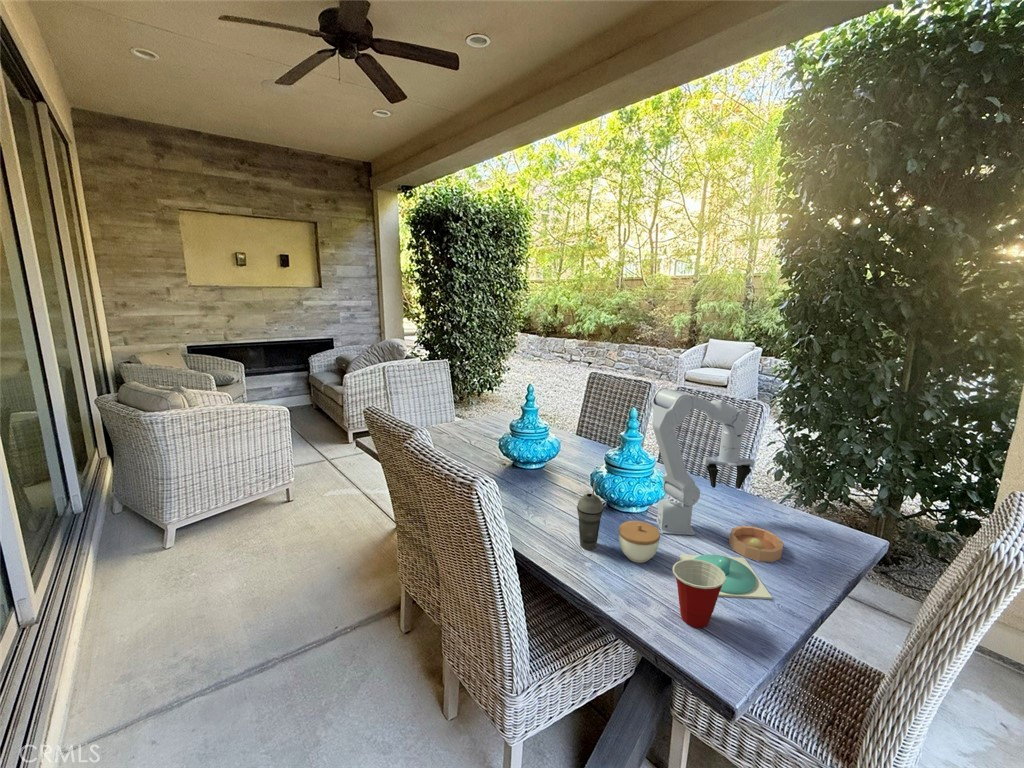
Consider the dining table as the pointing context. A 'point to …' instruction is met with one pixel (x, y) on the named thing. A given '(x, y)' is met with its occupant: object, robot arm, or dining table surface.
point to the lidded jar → (638, 540)
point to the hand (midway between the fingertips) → (725, 486)
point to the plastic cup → (697, 590)
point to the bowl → (756, 543)
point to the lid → (732, 574)
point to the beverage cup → (589, 519)
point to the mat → (757, 592)
